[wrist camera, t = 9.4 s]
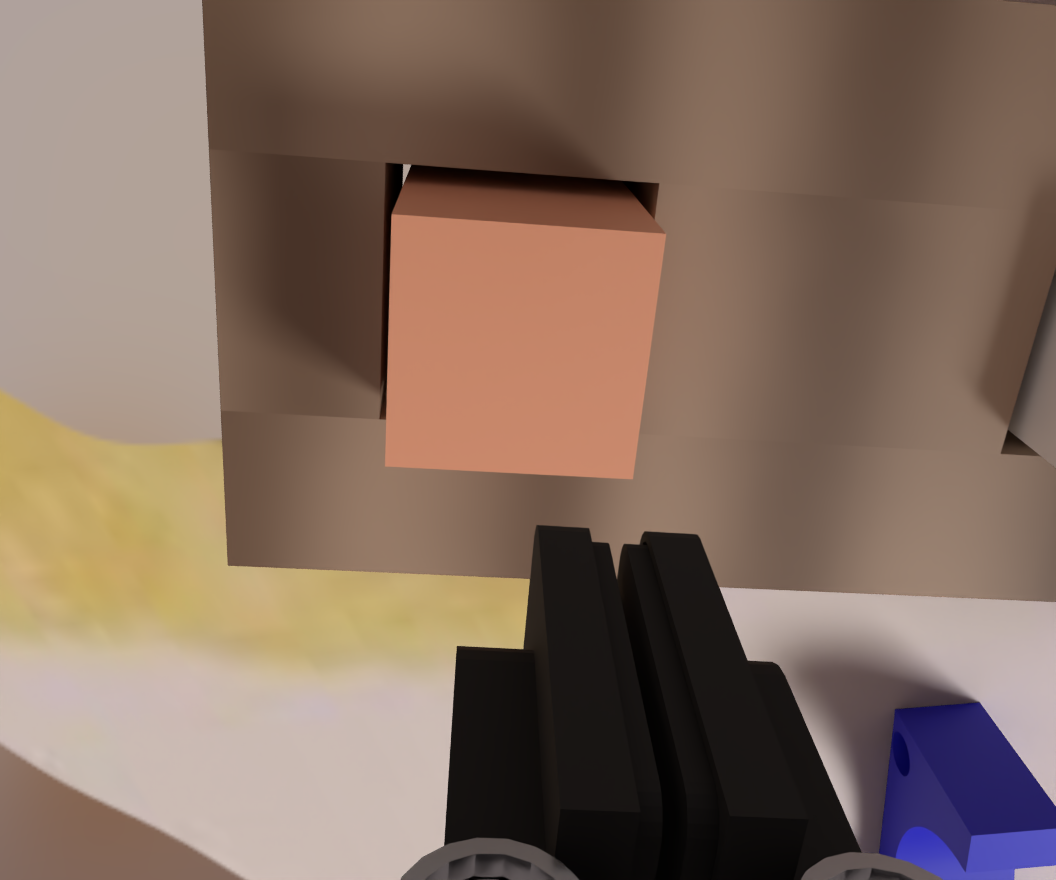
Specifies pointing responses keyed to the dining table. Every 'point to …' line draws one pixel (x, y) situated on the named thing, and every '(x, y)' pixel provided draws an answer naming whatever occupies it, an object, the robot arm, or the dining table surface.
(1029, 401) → the white rectangular block
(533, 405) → the terracotta plunger
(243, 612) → the dining table surface
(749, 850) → the robot arm
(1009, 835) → the cable clip
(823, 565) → the button box
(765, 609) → the dining table surface
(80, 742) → the dining table surface
